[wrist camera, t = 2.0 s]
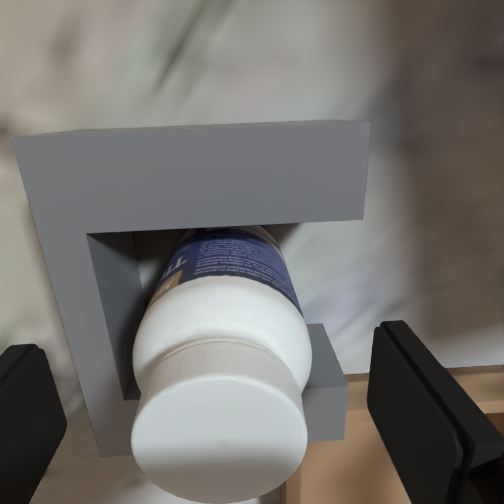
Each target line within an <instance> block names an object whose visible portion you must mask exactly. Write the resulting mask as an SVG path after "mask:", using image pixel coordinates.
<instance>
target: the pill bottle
mask: <svg viewBox="0 0 504 504" xmlns="http://www.w3.org/2000/svg"><path fill="white" fill-rule="evenodd" d="M311 364H312V348H311V342H310V338H309V333H308V329H307V326H306V323H305V320H304V318H303V314H302V311H301V309H300V306H299V303H298V300H297V297H296V294H295V291H294V288H293V285H292V282H291V279H290V276H289V273H288V270H287V267H286V263H285V260H284V258H283V255H282V253H281V250H280V248H279V246H278V245H277V243H276V241H275V240H274V239H273V237H272V236H271V235H270V234H269V233H268V232H267V231H266V230H265V229H264V228H262V227H260V226H259V225H244V226H224V227H204V228H191V229H190V230H188V231H187V232H186V233H185V234H184V235H183V236H182V238H181V239H180V241H179V242H178V244H177V245H176V247H175V249H174V251H173V253H172V255H171V257H170V260H169V262H168V264H167V266H166V268H165V270H164V272H163V275H162V277H161V279H160V281H159V283H158V285H157V288H156V290H155V292H154V294H153V297H152V299H151V301H150V303H149V305H148V308H147V310H146V312H145V314H144V316H143V319H142V321H141V324H140V326H139V329H138V332H137V335H136V338H135V342H134V348H133V370H134V375H135V379H136V382H137V384H138V387H139V389H140V391H141V397H140V401H139V404H138V408H137V411H136V415H135V418H134V422H133V426H132V431H131V448H132V453H133V456H134V458H135V461H136V463H137V465H138V467H139V468H140V469H141V470H142V472H143V473H144V474H145V475H146V476H147V477H148V478H149V479H150V480H151V481H152V482H153V483H154V484H155V485H157V486H159V487H160V488H162V489H163V490H165V491H167V492H169V493H171V494H173V495H175V496H178V497H181V498H184V499H187V500H191V501H196V502H201V503H213V504H225V503H233V502H240V501H245V500H250V499H252V498H256V497H259V496H262V495H264V494H267V493H268V492H270V491H272V490H274V489H276V488H277V487H278V486H280V485H281V484H282V483H284V482H285V481H286V480H287V479H288V478H289V477H290V476H291V475H292V474H293V473H294V472H295V471H296V469H297V468H298V466H299V465H300V463H301V462H302V459H303V457H304V454H305V451H306V447H307V436H308V434H307V426H306V421H305V416H304V411H303V406H302V397H301V394H302V392H303V390H304V388H305V386H306V383H307V381H308V378H309V375H310V370H311Z"/></svg>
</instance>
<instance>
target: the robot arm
mask: <svg viewBox="0 0 504 504" xmlns="http://www.w3.org/2000/svg"><path fill="white" fill-rule="evenodd" d="M367 407H368V410H369V413H370V415H371V417H372V419H373V422H374V424H375V426H376V428H377V430H378V432H379V435H380V437H381V439H382V441H383V443H384V445H385V447H386V450H387V452H388V454H389V456H390V458H391V460H392V463H393V465H394V467H395V469H396V471H397V473H398V476H399V478H400V480H401V482H402V484H403V486H404V488H405V491H406V493H407V495H408V497H409V499H410V501H411V504H504V437H503V435H502V434H501V433H500V432H499V431H498V430H497V428H496V427H495V426H494V425H493V424H492V422H491V421H490V420H489V419H488V418H487V416H486V415H485V414H484V413H483V412H482V411H481V409H480V408H479V407H478V406H477V405H476V403H475V402H474V401H473V400H472V399H471V398H470V396H469V395H468V394H467V393H466V392H465V390H464V389H463V388H462V387H461V386H460V385H459V383H458V382H457V381H456V380H455V379H454V377H453V376H452V375H451V374H450V373H449V372H448V371H447V370H446V369H445V368H444V367H443V366H441V364H440V363H439V362H438V361H437V360H436V358H435V357H434V356H433V355H432V354H431V352H430V351H429V350H428V349H427V348H426V346H425V345H424V344H423V343H422V342H421V341H420V339H419V338H418V337H417V336H416V335H415V333H414V332H413V331H412V330H411V329H410V327H409V326H408V325H407V324H406V323H405V322H404V321H402V320H398V321H383V322H381V324H380V327H376V328H375V330H374V337H373V346H372V355H371V364H370V373H369V382H368V390H367ZM66 427H67V421H66V417H65V414H64V411H63V408H62V404H61V401H60V398H59V395H58V392H57V389H56V386H55V382H54V379H53V376H52V373H51V370H50V367H49V363H48V360H47V357H46V354H45V352H44V350H43V349H39V347H38V346H37V345H36V344H22V345H12V346H10V347H8V348H7V349H6V350H5V351H4V352H3V353H2V354H1V355H0V504H29V502H30V500H31V498H32V496H33V494H34V492H35V490H36V489H37V487H38V485H39V483H40V481H41V479H42V477H43V475H44V473H45V471H46V469H47V467H48V465H49V464H50V462H51V460H52V458H53V456H54V454H55V452H56V450H57V448H58V446H59V444H60V442H61V440H62V439H63V437H64V434H65V432H66Z"/></svg>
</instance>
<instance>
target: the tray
mask: <svg viewBox="0 0 504 504" xmlns="http://www.w3.org/2000/svg"><path fill="white" fill-rule="evenodd" d="M445 369H446V370H447V371H448V372H449V373H450V374H451V375H452V376H453V377H454V379H455V380H456V381H457V382H458V383H459V385H460V386H461V387H462V388H463V389H464V390H465V392H466V393H467V394H468V395H469V396H470V398H471V399H472V400H473V401H474V402H475V403H476V405H477V406H478V407H479V408H480V409H481V411H482V412H483V413H484V414H485V415H486V416H487V418H488V419H489V420H490V421H491V422H492V424H493V425H494V426H495V427H496V428H497V430H498V431H499V432H500V433H501V434H502V435H503V437H504V365H493V366H477V367H461V368H445ZM344 376H345V379H346V381H347V384H348V386H349V388H348V399H347V411H346V422H345V434H344V440H337V441H322V442H308V443H307V447H306V451H305V454H304V457H303V459H302V462H301V463H300V465H299V466H298V468H297V469H296V471H295V472H294V473H293V474H292V475H291V476H290V477H289V478H288V479H287V480H286V481H285V482H284V483H282V484H281V504H411V501H410V499H409V497H408V495H407V493H406V491H405V488H404V486H403V484H402V482H401V480H400V478H399V476H398V473H397V471H396V469H395V467H394V465H393V463H392V460H391V458H390V456H389V454H388V452H387V450H386V447H385V445H384V443H383V441H382V439H381V437H380V435H379V432H378V430H377V428H376V426H375V424H374V422H373V419H372V417H371V415H370V413H369V410H368V407H367V390H368V382H369V373H366V374H350V375H344Z"/></svg>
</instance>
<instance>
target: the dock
mask: <svg viewBox="0 0 504 504" xmlns="http://www.w3.org/2000/svg"><path fill="white" fill-rule="evenodd" d="M370 132H371V122H360V121H344V120H313V121H289V122H264V123H240V124H215V125H191V126H166V127H141V128H117V129H92V130H73V131H63V132H54V133H44V134H34V135H25V136H15V137H10V138H11V142H12V145H13V149H14V152H15V156H16V159H17V163H18V167H19V170H20V174H21V177H22V181H23V184H24V188H25V191H26V195H27V198H28V202H29V205H30V209H31V212H32V216H33V219H34V223H35V227H36V230H37V234H38V237H39V241H40V244H41V248H42V251H43V255H44V258H45V262H46V265H47V269H48V272H49V276H50V279H51V283H52V287H53V290H54V294H55V297H56V301H57V304H58V308H59V311H60V315H61V318H62V322H63V325H64V329H65V332H66V336H67V339H68V343H69V347H70V350H71V354H72V357H73V361H74V364H75V368H76V371H77V375H78V378H79V382H80V385H81V389H82V392H83V396H84V399H85V403H86V407H87V410H88V414H89V417H90V421H91V424H92V428H93V431H94V435H95V438H96V442H97V445H98V449H99V452H100V456H101V457H104V456H119V455H133V453H132V448H131V431H132V426H133V422H134V418H135V415H136V411H137V408H138V404H139V401H140V397H141V391H140V389H139V387H138V384H137V382H136V379H135V375H134V370H133V348H134V342H135V338H136V335H137V332H138V329H139V326H140V324H141V321H142V319H143V316H144V314H145V312H146V310H145V304H144V298H143V293H142V287H141V281H140V276H139V270H138V264H137V259H136V253H135V247H134V241H133V236H132V231H143V230H163V229H183V228H204V227H224V226H244V225H264V224H284V223H304V222H325V221H345V220H363V213H364V202H365V190H366V178H367V167H368V155H369V144H370ZM306 326H307V329H308V333H309V338H310V342H311V348H312V364H311V370H310V375H309V378H308V381H307V383H306V386H305V388H304V390H303V392H302V394H301V397H302V406H303V411H304V416H305V421H306V426H307V434H308V436H307V443H308V442H322V441H337V440H344V434H345V422H346V411H347V399H348V388H349V386H348V384H347V381H346V379H345V376H344V374H343V372H342V369H341V367H340V364H339V362H338V360H337V357H336V355H335V353H334V350H333V348H332V345H331V343H330V341H329V338H328V336H327V333H326V331H325V329H324V326H323V324H306Z"/></svg>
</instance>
